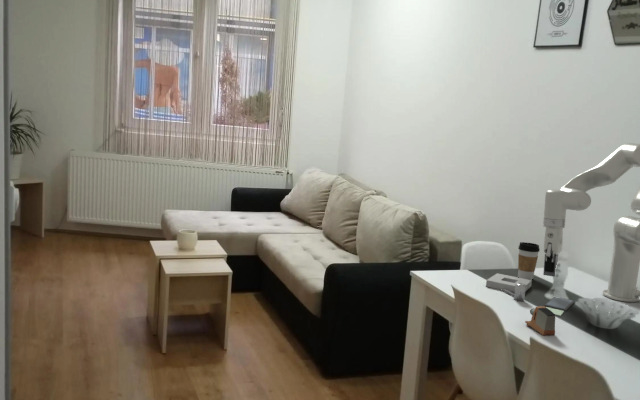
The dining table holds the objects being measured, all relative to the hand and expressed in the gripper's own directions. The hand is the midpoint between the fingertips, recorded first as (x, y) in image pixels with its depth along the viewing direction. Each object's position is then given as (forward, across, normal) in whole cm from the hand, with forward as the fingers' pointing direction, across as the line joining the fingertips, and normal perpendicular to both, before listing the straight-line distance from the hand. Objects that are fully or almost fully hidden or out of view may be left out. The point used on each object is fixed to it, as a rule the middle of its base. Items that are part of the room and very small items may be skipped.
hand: (550, 269), depth 223 cm
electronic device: (+9, -43, -6) cm, 44 cm away
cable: (+9, -10, +12) cm, 18 cm away
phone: (+10, -9, -6) cm, 15 cm away
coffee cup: (+10, +19, +13) cm, 25 cm away
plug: (+9, -15, +7) cm, 19 cm away
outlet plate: (+9, +1, +15) cm, 18 cm away
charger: (+2, 0, 0) cm, 2 cm away
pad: (+9, -20, -6) cm, 23 cm away
